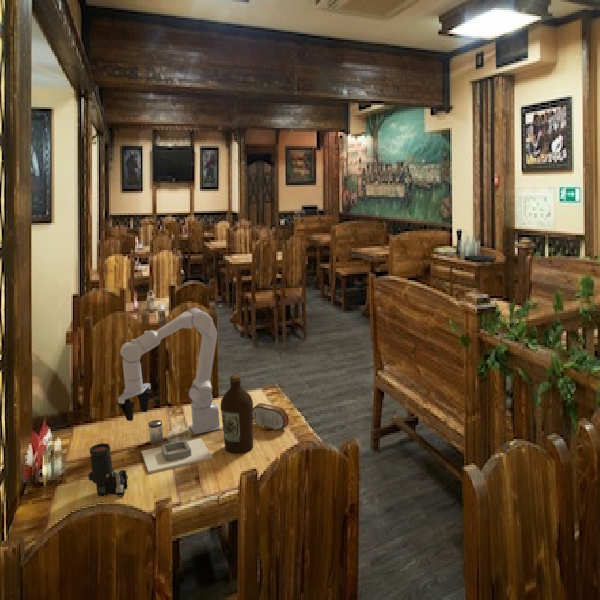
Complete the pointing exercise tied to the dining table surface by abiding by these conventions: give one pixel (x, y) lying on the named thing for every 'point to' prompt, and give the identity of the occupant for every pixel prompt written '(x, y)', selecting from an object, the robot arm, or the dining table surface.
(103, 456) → the black camera
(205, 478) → the dining table surface
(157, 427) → the lens
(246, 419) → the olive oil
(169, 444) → the mount plate
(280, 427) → the tin
